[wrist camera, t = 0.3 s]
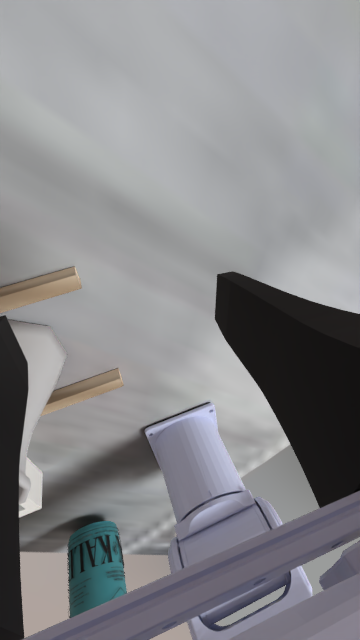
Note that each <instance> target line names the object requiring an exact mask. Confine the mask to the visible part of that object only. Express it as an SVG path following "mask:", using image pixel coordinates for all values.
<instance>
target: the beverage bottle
mask: <svg viewBox="0 0 360 640" xmlns="http://www.w3.org/2000/svg"><path fill="white" fill-rule="evenodd" d="M118 530H119V529H117V527H116V524H115V523H114V522H111V521H101V522H96V523H92V524H89V525H87V526H84V527H82V528H80V529H79V530H77V531H76V532H74V533H73V534H72V535H71V537H70V539H69V543H68V549H67V550H68V553H67V554H68V557H69V559H68V560H69V562H68V563H69V564H68V565H69V569H68V570H69V573H68V574H69V590H68V591H69V598H70V600H69V602H70V617H69V618H72V617H74V616H76V615H79V614H81V613H83V612H85V611H88V610H90V609H92V608H95V607H97V606H99V605H101V604H104V603H106V602H108V601H110V600H113V599H115V598H117V597H120V596H122V595H124V594H126V593H127V591H126V584H125V577H124V576H125V575H124V573H125V572H124V570H123V568H124V562H123V560H122V559H123V555H122V551H121V550H122V547H121V543H120V542H121V540H120V542H119V539H120V538H119V537H120V536H119V533H118ZM122 562H123V563H122Z"/></svg>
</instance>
